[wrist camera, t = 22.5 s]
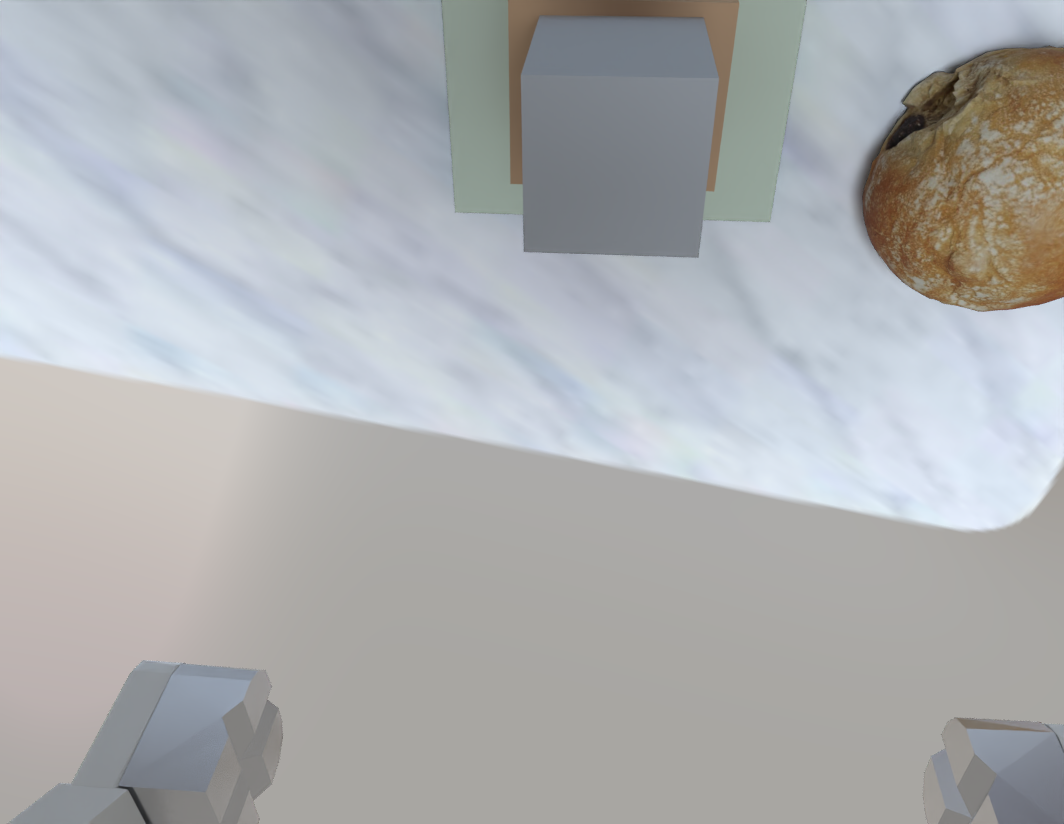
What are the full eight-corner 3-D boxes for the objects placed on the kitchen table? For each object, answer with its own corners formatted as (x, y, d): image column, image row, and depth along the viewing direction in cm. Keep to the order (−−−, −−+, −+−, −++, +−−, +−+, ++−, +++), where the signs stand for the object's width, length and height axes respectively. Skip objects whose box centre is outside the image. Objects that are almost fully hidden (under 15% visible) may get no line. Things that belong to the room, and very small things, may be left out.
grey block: (540, 170, 31) (524, 252, 26) (539, 15, 28) (521, 74, 23) (687, 174, 30) (698, 257, 25) (703, 17, 27) (719, 78, 22)
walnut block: (524, 132, 35) (510, 183, 31) (523, -37, 31) (508, -3, 27) (704, 138, 34) (714, 191, 30) (725, -33, 31) (739, 3, 27)
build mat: (458, 202, 38) (454, 214, 37) (436, -156, 30) (430, -153, 29) (766, 211, 37) (770, 224, 36) (827, -157, 29) (833, -153, 28)
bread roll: (991, -13, 35) (976, -10, 28) (1234, 128, 33) (1276, 165, 27) (837, 201, 41) (797, 243, 34) (1037, 331, 39) (1033, 401, 32)
